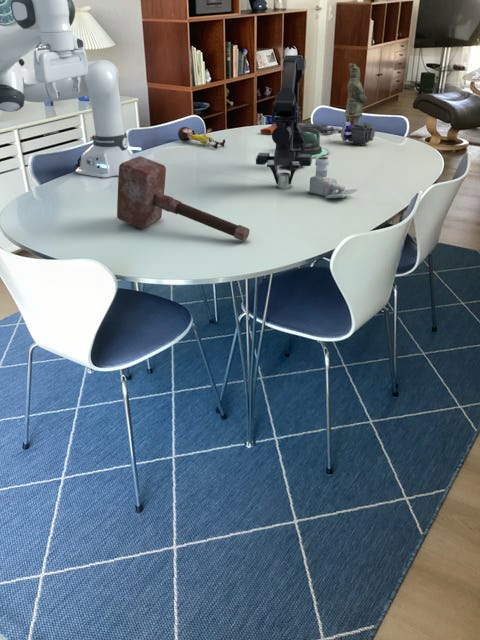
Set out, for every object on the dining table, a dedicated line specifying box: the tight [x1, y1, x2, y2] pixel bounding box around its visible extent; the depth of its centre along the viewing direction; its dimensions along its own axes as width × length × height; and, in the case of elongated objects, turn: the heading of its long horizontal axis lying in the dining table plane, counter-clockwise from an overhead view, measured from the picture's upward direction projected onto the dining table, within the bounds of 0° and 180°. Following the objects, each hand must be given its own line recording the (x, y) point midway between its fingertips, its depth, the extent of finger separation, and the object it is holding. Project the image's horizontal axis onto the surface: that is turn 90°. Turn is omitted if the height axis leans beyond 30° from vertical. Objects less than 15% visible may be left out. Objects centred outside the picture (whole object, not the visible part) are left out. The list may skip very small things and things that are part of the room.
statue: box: [344, 62, 368, 127], centre depth 262 cm, size 11×9×30 cm
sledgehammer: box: [116, 155, 250, 242], centre depth 156 cm, size 17×10×40 cm
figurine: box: [177, 126, 226, 150], centre depth 251 cm, size 13×8×25 cm
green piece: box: [300, 128, 328, 159], centre depth 234 cm, size 15×19×20 cm
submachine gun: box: [260, 122, 335, 136], centre depth 265 cm, size 32×3×25 cm
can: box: [277, 171, 290, 190], centre depth 193 cm, size 4×4×5 cm
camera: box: [308, 155, 359, 199], centre depth 182 cm, size 9×12×15 cm
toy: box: [338, 121, 376, 146], centre depth 244 cm, size 9×9×15 cm
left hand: (66, 95), depth 163 cm, fingers open, 8 cm apart
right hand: (283, 184), depth 194 cm, fingers closed on can, 4 cm apart
